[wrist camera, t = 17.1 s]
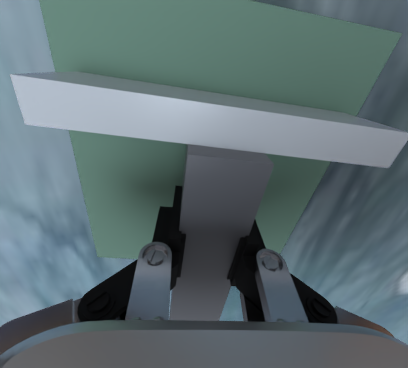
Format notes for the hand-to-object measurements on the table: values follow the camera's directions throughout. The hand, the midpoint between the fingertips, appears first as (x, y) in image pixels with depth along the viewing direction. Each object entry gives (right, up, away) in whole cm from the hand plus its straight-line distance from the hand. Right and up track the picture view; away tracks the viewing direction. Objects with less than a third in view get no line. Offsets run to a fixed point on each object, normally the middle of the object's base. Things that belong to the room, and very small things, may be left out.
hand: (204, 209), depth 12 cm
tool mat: (0, +2, +1) cm, 3 cm away
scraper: (0, 0, +2) cm, 2 cm away
